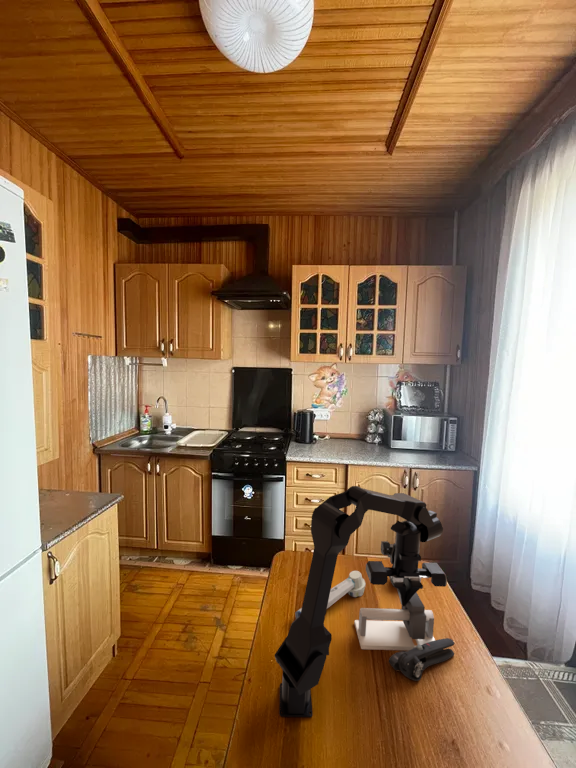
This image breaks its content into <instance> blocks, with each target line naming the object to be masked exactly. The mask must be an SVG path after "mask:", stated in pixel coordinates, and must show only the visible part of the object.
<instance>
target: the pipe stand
mask: <svg viewBox="0 0 576 768" xmlns="http://www.w3.org/2000/svg"><path fill="white" fill-rule="evenodd" d="M358 613H359V615H358V617H359V618H358V619H355V620H354V627H355V630H356V634H357V639H358V642H359V646H360V649H361V650H375V651H376V650H379V651H381V650H384V651H409V650H411V649H413V648H415V647H417V645H423V644H425V643H428V642H431V641H435V640H436V638H435V637H434V625H435V617H434V613H433V610H432V609H425V610H424V613H425V615H426V627H425V639H412V637H410V636H409V633H408V631H407V629H406V627H405V625H404V622H403V621H409V620H410V613H409V611H408V609H401V608H377V607H376V608H371V607H360V608H359V612H358Z"/></svg>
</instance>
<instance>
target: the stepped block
mask: <svg viewBox="0 0 576 768" xmlns="http://www.w3.org/2000/svg"><path fill="white" fill-rule="evenodd" d="M417 592H418V591H417ZM417 592H416V593H415V594H414V595H413V596H412V598H411V599H410V600H409V602H408V603H407V604H406V606H402V605H401V608H400V609H408V611H409V613H410V620H409V621H403V622H404V625H405V627H406V629H407V631H408V633H409V636H410V637H412V639H425V627H426V615H425V613H424V610H426V609H425V607H426V606H425V605H424V603H423V602H422V600H421V598H420V596H419V594H418V593H417Z"/></svg>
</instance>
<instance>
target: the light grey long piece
mask: <svg viewBox="0 0 576 768" xmlns="http://www.w3.org/2000/svg"><path fill="white" fill-rule="evenodd" d="M365 588H366V580H365V579H364V578H363V576H362V572H360V571H359V570H352V571H350V572H349V574H348V577H347V578H345V579H344V580H343V581H341V582H339V583H338V584H336V585H334V586H333V587H331V590H330V595H329V600H328V605H327V609H329V608H330V607H331V606H332V605H333V604H335V603H336V602H337V601H339V600H340V599H341V598H342V597H344V596H345V595H346V594H347V595H349V597H352V598H357V597H362V596H363V595H364V592H365ZM301 610H302V607H301V608H299V609H298V610H297V611H295V612H294V615H295V620H296V619H297V618H298V617H299V616H300V614H301Z"/></svg>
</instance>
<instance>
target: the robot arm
mask: <svg viewBox="0 0 576 768" xmlns="http://www.w3.org/2000/svg"><path fill="white" fill-rule="evenodd" d="M352 505H353V506H355V508H354V511H353V512H352V513H351V514H350V515H349V514H348V513H346V512H344V511H343V510H341V509H344V508H348V507H350V506H352ZM368 511H373V512H374V511H375V512H379V513H383V514H389V515H395V516H398V517H400V518H402V519H403V520H402V521H400V520H397V521H396V522H394V524H392V525H391V526H390V530H391V531H393V532H395V542H394V543H390V542H389V541H388V540H387V541H386V540H381V542H380V552H381V554H382V555H384V556H387V558H389V561H390V563H391V565H393V564H394V567H392V566H391V567H390V566H385V565H384V563H383V561H382V560H368V561H367V562H366V563H365V572H366V575H367V577H368V580H369V582H370V584H372V585H375V586H376V585H377V586H384V585H386V584H387V583H388V581H389V580H390V583H391V584H392V587H393V588H395V589H396V591H397V595H398V597H399V602H400V604H401V607H402V606H406V604H407V603H408V602H409V600H410V599H411V598H412V596H413V595H414V594H415V593H416V592H418V591H419V590H420V589H421V590H422V589H424V585H423V583H422V579H430V583H432V585H433V586H434V587H439V588H440V587H444V588H445V587H447V584H448V583H447V582H448V577H447V575H446V573H445V572H444V570H443V569H442V568H441V567H440V565H439V564H438V563H437V562H423V563H422V564H421V568H419V562H421V560H422V556H421V554H420V546H421V543H427V542H428V541H431V540H433V539H436V538H438V537H441V535H442V534H443V532H444V527H443V525H442V523H441V521H440V518H438V516H437V514H438V513H437V512H435V511H433V510H428V508H427V503H426V502H424V501H422V500H420V499H418V498H415V497H414V496H411V495H409V494H407V493H404V492H398V493H397V492H396V493H394V494H387V493H382V492H378V491H376V490H375V491H374V490H371V489H366V488H363V487H360V486H359V485H352V486H350V487H349V488H347V489H346V490H344V491H343V492H340V493H337V494H334V495H331V496H329V497H328V498H327V499H325V500H324V501H323V502H322V503H320V504H318V506H317V507H315V508H314V509H313V512H312V514H311V519H310V520H311V522H310V523H311V524H310V533H311V538H312V543H313V552H312V557H311V562H310V567H309V571H308V577H307V581H306V586H305V590H304V596H303V601H302V605H301V608H302V610H301V614H300V616H299V617H298V618H297V619H296V618H295V619H294V621H292V623H291V624H290V627H289V630H288V634H287V635H286V637H285V638H284V639H283V641H282V643H281V644H280V646H279V647H278V649H277V650H276V652H275V653H274V658H275V661H276V663H277V664H278V665H279V667H280V669H281V670H282V681H281V682H280V684H279V713H278V714H279V716H280V717H283V718H284V717H288V718H312V717H313V715H314V713H313V712H314V711H313V701H312V690H311V689H313V688H314V687H316V686H318V685H319V682H320V680H321V677H322V674H323V671H324V666H325V663H326V660H327V656H329V655H330V646H331V642H332V636H333V635H332V633H331V632H330V631H329V630H328V629H327V628H326V627H325V618H326V615H327V614H326V613H327V609H328V608H327V605H328V600H329V595H330V590H331V589H332V584H333V580H334V576H335V569H336V565H337V561H338V556H339V554H340V553H341V552H342V551H343V550H344V549H345V548H346V547H347V546H348V544H349V542H350V540H351V539H350V538H351V536H352V534H353V533H355V532H356V531H357V530H358V529H359V528H360V527H361V525H362V524H363V520H364V517H365V515H366V513H367V512H368ZM388 578H389V580H388ZM403 581H404V582H403Z"/></svg>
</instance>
